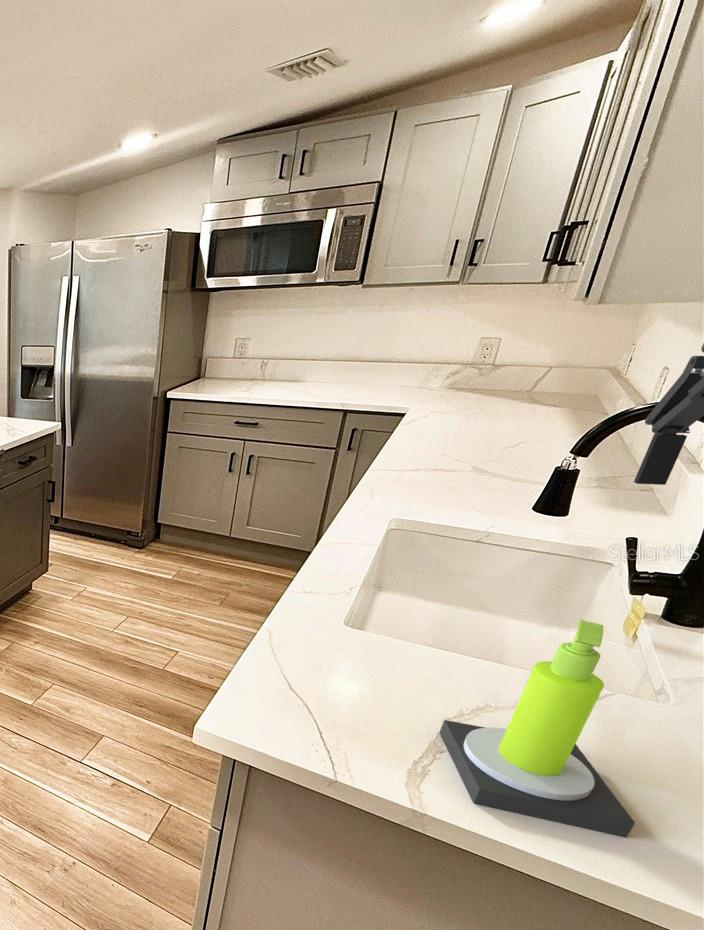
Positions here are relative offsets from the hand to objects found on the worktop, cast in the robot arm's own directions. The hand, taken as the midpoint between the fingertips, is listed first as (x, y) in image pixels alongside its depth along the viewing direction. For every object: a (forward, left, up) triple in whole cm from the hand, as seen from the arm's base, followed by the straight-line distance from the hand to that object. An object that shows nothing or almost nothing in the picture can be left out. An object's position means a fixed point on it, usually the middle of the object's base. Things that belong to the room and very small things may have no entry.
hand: (683, 500), depth 75 cm
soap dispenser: (+12, +18, -31) cm, 37 cm away
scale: (+11, +17, -34) cm, 40 cm away
